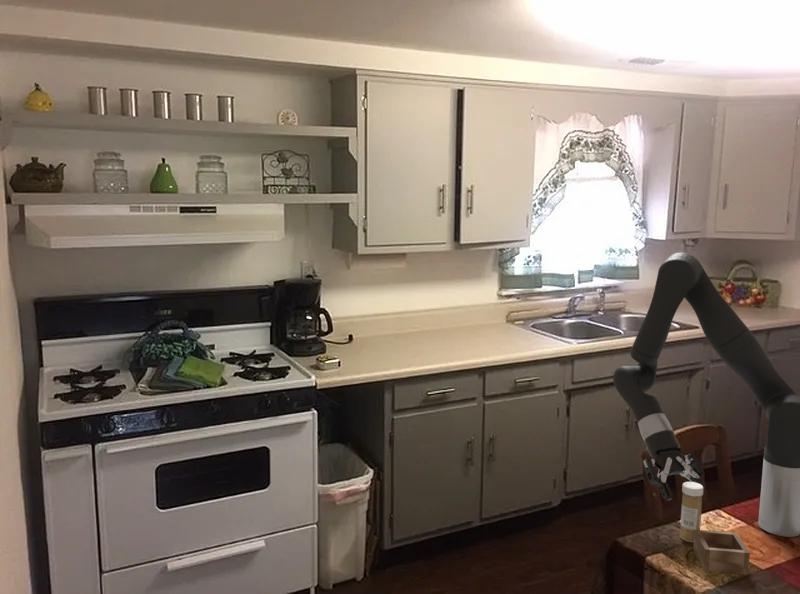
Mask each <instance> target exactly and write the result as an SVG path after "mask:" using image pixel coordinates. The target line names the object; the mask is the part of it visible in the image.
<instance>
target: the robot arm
mask: <svg viewBox="0 0 800 594" xmlns="http://www.w3.org/2000/svg"><path fill="white" fill-rule="evenodd" d="M684 299H685V301H686V302H688V303H689V305H690V307H691V308H692V310H693V311H694V313H695V314H696V315H695V316H696V318H697V319H698V322H699V324H700V327H701V329H702V332H703V334H704V336H705V338H706V339H707V341H708V343H709V345H710V346H711V347H712V349H713V350H714V351H715V353H716V354H717V355H718V357H719V358H720V359H721V360H722V361H723V363H725V365H726V366H727V367H728V368H729V369H730V370H731V371H732V372H733V373H734V374H735V375H736V376H737V377H738V378H739V379H740V380H742V381H743V382H744V383H745V384H746V385H747V387H748V388H749V389H750V390H751V391H752V393H753V394H754V396H755V398H756V399H757V401H758V402H759V404H760V406H761V407H762V409H763V412H765V416H766V417H767V420H768V422H767V432H766V434H767V435H766V443H765V446H764V450H763V462H762V474H761V475H762V476H761V485H760V487H761V488H760V499H759V510H758V511H759V512H758V527H759V528H761V529H762V530H764V531H766V532H767V533H770V534H771V535H775V536H778V537H779V536H780V537H784V538H787V537H789V538H792V537H793V538H795V537H798V536H800V395H799V394H798V393H797V392H796V391H795V390H794V389H793V388H792V387H791V386H790V385H789V384H788V382H786V381H785V379H783V377H782V376H781V375H780V374H779V373H778V371H777V370H776V369H775V367H774V366H773V364H772V362H771V360H770V358H769V356H768V355H767V353H766V351H765V350H764V348H763V347H762V345H761V344H760V342H759V341H758V339H757V337H755V335H754V334H753V332H751V330H750V329H749V327H748V326H747V325H746V324H745V323H744V321H743V320H742V319H741V318H740V317H739V315H738V314H737V312H736V311H735V310H734V309H733V308H732V307H731V306H730V304H729V303H728V302H727V301H726V300H725V298H724V297H723V296H722V295H721V293H719V291H718V290H717V288H716V287H715V285H714V283H713V282H712V280H711V279H710V276H709V275H708V273H707V272H706V270H705V268H704V267H703V265H702V263H700V261H699V260H698V259H697V258H696V256H694V255H692V254H690V253H687V252H683V251H682V252H675V253H673V254H671V255H670V256H668V257H667V258H666V259H665V260H664V261H663V262H662V263H661V265H660V266H659V268H658V271H657V277H656V281H655V286H654V292H653V295H652V299H651V302H650V304H649V308H648V310H647V313H646V315H645V317H644V319H643V322H642V323H641V325H640V328H639V330H638V333H637V335H636V337H635V339H634V341H633V343H632V346H631V350H630V357H631V358H632V359H633V361H635V362H637V363H638V364H637V365H621V366H618V367H617V368H616V369H615V370H614V372H613V375H612V376H613V378H612V379H613V385H614V387H615V390H616V392H618V394H619V395H620V397H621V398H622V400H623V401H624V402H625V403H626V404H627V406H628V407H629V408H630V409H631V411H632V413H633V415H634V418H635V420H636V422H637V425H638V429H639V432H640V435H641V437H642V439H643V442H644V444H645V446H646V449H647V451H648V454H649V456H650V457H651V458H650V457H647V458H645V459H644V460H643V461H642V462H641V463H642V467H643V469H644V472H645V475H646V478H647V480H648V483H649V485H655V486H657V487H658V488H659V490H660V493H661V496H662V497H663V499H664V500H666V502H670V501H672V499H674V495H673V492H672V491H671V489H670V486H669V484H668V482H667V478H668V477H669V476H672V475H673V476H676V475H677V476H678V475H680V476H681V477H683V478H685V479H687V480H689V482H696V483H699V484H701V485H702V486H703V484H702V483H701V480H700V479H701V478H702V477H704V476H705V472H704V470H703V468H702V466H701V463H700V462H699V459H698V458H697V456H696V454H695V453H694V452H691V453H689V454H685V455H684V454H683V453H682V451H681V445H680V443H679V441H678V439H677V437H676V434H675V432H674V430H673V427H672V425H671V423H670V422H669V419H668V418H667V416H666V414H665V411H664V410H663V408H662V405H661V403H660V402H659V400H658V398H657V397H656V396H654V395H652V394H648V393H646V392H649V390H651V389H652V388H653V386H654V385H655V383H656V378H657V377H656V376H657V369H658V360H659V358H660V355H661V353H662V351H663V348H664V346H665V344H666V341H667V339H668V335H669V332H670V329H671V326H672V322H673V320H674V317H675V315H676V312H677V310H678V308H679V307H680V305H681V304H682V302H683V300H684ZM655 467H656V468H657V469H658V470H657V471H658V472H656V469H655ZM704 493H705V490H704V488H703V495H702V496H704Z"/></svg>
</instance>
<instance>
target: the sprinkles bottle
mask: <svg viewBox="0 0 800 594" xmlns="http://www.w3.org/2000/svg"><path fill="white" fill-rule="evenodd" d="M701 484H702V483H701ZM701 484H699V483H696V482H691V481H685V482H682V486H681V487H682V489H681V491H682V499H681V511H680V532H679V537H680V539H681V540H682V541H685V542H687V543H692V544H694V530H701V528H702V525H701V524H702V505H703V503H702V502H703V496H704V495H703V489H704V486H703V484H702V485H701Z"/></svg>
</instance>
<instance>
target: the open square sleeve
mask: <svg viewBox="0 0 800 594" xmlns="http://www.w3.org/2000/svg"><path fill="white" fill-rule="evenodd" d="M692 549H693V553H694V554H695V556H696V558H697V560H698V562H699V565H700V567H701V569H702V570H703V572H709V573H711V572H712V573H722V574H723V573H724V574H732V575H733V574H734V575H746V576H747V575H748V576H749V568H750V555H751V553H750V551H749V549H748V547H747V546H746V544H744V542H743V541H742V539H741V537H740V536H739V534H738V533H737V532H731V531H717V530H707V529H706V530H703V529H700V530H694V543H693V546H692Z"/></svg>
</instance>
